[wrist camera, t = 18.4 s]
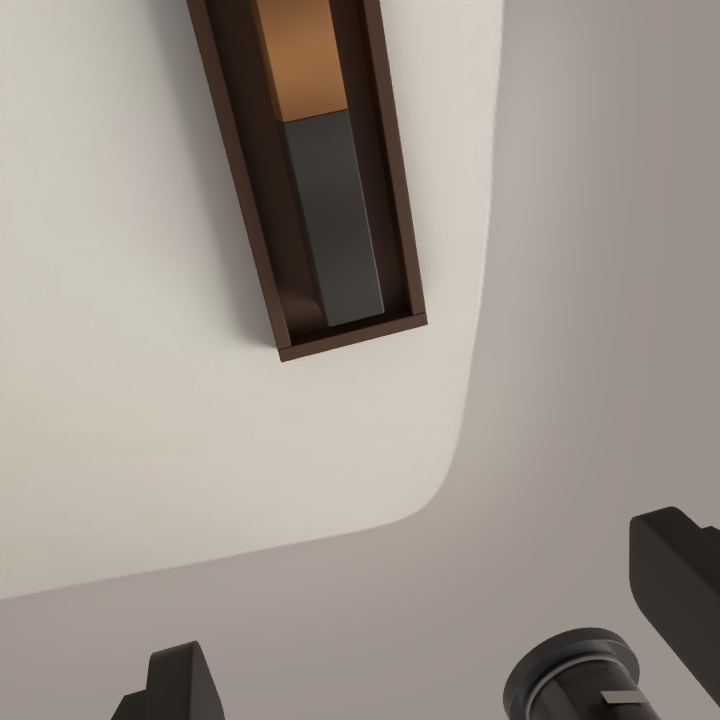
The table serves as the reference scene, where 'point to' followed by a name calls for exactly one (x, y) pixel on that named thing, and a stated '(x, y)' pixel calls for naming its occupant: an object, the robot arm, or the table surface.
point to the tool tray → (271, 183)
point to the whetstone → (319, 154)
